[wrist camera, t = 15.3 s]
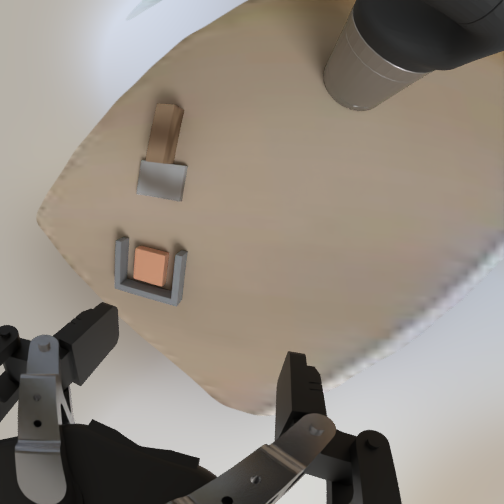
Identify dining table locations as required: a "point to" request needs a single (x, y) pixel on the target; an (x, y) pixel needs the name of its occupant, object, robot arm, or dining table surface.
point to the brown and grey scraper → (163, 157)
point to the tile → (151, 265)
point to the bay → (145, 289)
